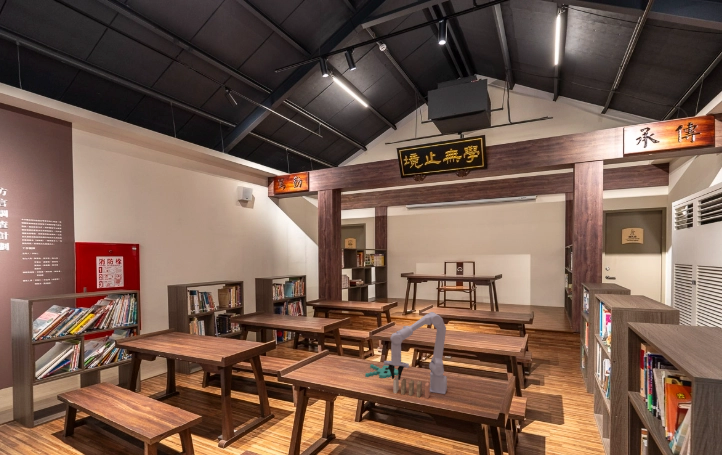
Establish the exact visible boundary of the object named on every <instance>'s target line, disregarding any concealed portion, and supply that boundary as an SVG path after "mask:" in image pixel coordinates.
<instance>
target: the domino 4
mask: <svg viewBox="0 0 722 455" xmlns="http://www.w3.org/2000/svg"><path fill="white" fill-rule="evenodd" d="M430 396H431V392H430V381H429V382H425V384H424V399H426V400H428V399H429V398H430Z"/></svg>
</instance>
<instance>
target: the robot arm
mask: <svg viewBox="0 0 722 455" xmlns="http://www.w3.org/2000/svg"><path fill="white" fill-rule="evenodd" d="M424 325H425V326H426V325H427V326H428V325H429V326H431V325H433V327H434V328H435V329H436V332H435V334H436V335H435V341H434V348H433V355H432V357H431V360H430V361H429V364H428V367H429V370H430V372H429V383H430V393H434V394H435V393H436V394H442V395H445V394H446V393H447V391H448V385H447V384H448V379H447V378H448V377H447V375H444V373H445V368H444V362H443V355H444V349H445V341H446V333H447V326H446V324H445V322H444V319H443V317H442V316H441V315H439V314H437V313H435V312H434V311H430V312H429V313H427V314H424V315H423V316H422V317H421V318H420V319H418V320H417V321H415V322H414V323H413V324H411V325H406V326H405V325H403V326H402V328H401V329H399V330H397V331H396V332H393V333H391V335H390V338H389V339H390V343H391V345H390V347H391V348H390V360H383V365H386V366H389V367H388V368H389V370H390V372H391V376H392V377H391V376H390V377H391V379H392V380H394V379H395V376H394V368H396V367H397V370H398V377H397V378H398V380H399V381H400V380H401V376H402V372H403V370H404V369H405V368H406V369H408V368H410V363H407V362H403V361H402V343H403V341H404V340H406V339H408V338H409V337H411V336H412V335H413V333H414V331H417V330H418V329H420V328H421V327H424Z"/></svg>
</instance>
